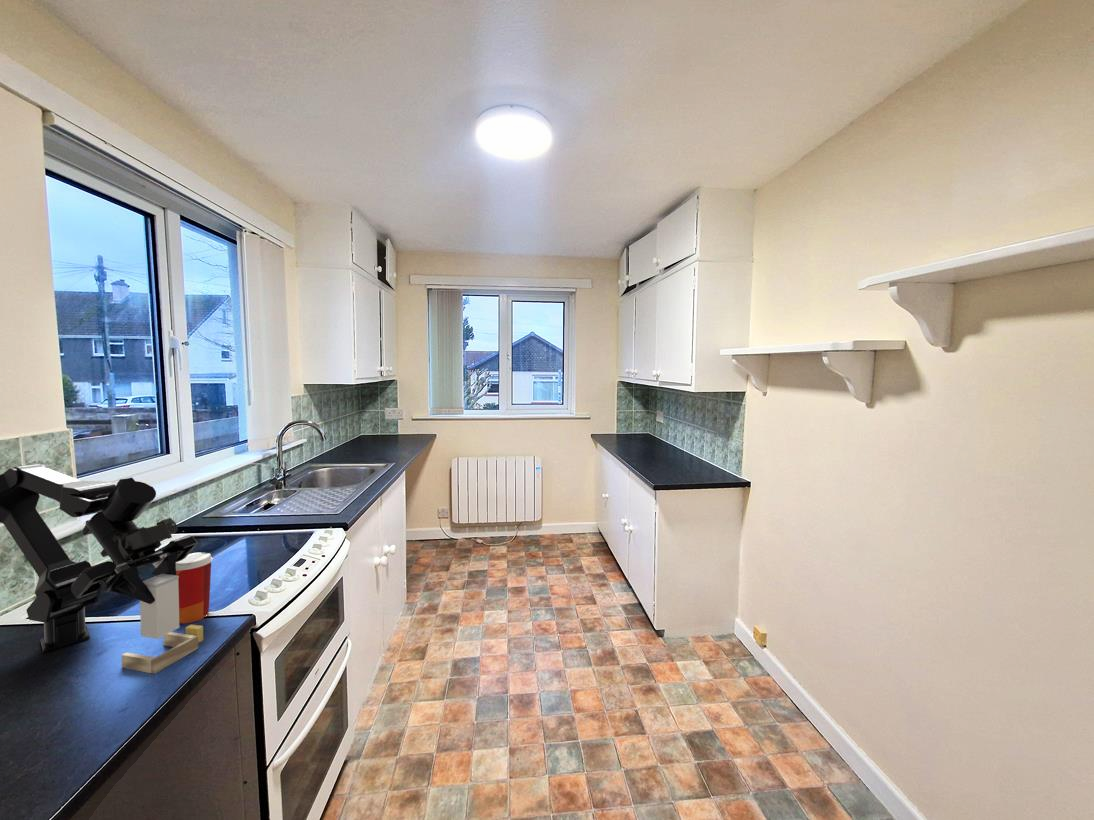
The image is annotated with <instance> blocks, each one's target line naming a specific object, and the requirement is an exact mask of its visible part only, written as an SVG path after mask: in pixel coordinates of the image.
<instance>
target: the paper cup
mask: <svg viewBox="0 0 1094 820" xmlns="http://www.w3.org/2000/svg"><path fill="white" fill-rule="evenodd" d="M213 560H214V558H213V557H212V555H211V553H210V552H209V553H208V552H201V551H200V552H199V551H198V552H193V553H191V552H190V553H189V554H188V555H187V557H186V558H184V559H183V560H181V561H178V562H176V574H177V576H179V579H178V586H179V624H185V625H186V624H190V623H191V624H192V623H195V621H196V622H198V620H199V621H200V620H203V619H205V618H206V617H207V616H208V615H209V611H210V598H211V597H210V595H211V578H212V576H211V574H212V573H211V572H212V562H213ZM207 614H208V615H207ZM206 615H207V616H206ZM205 616H206V617H205ZM204 617H205V618H204Z"/></svg>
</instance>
